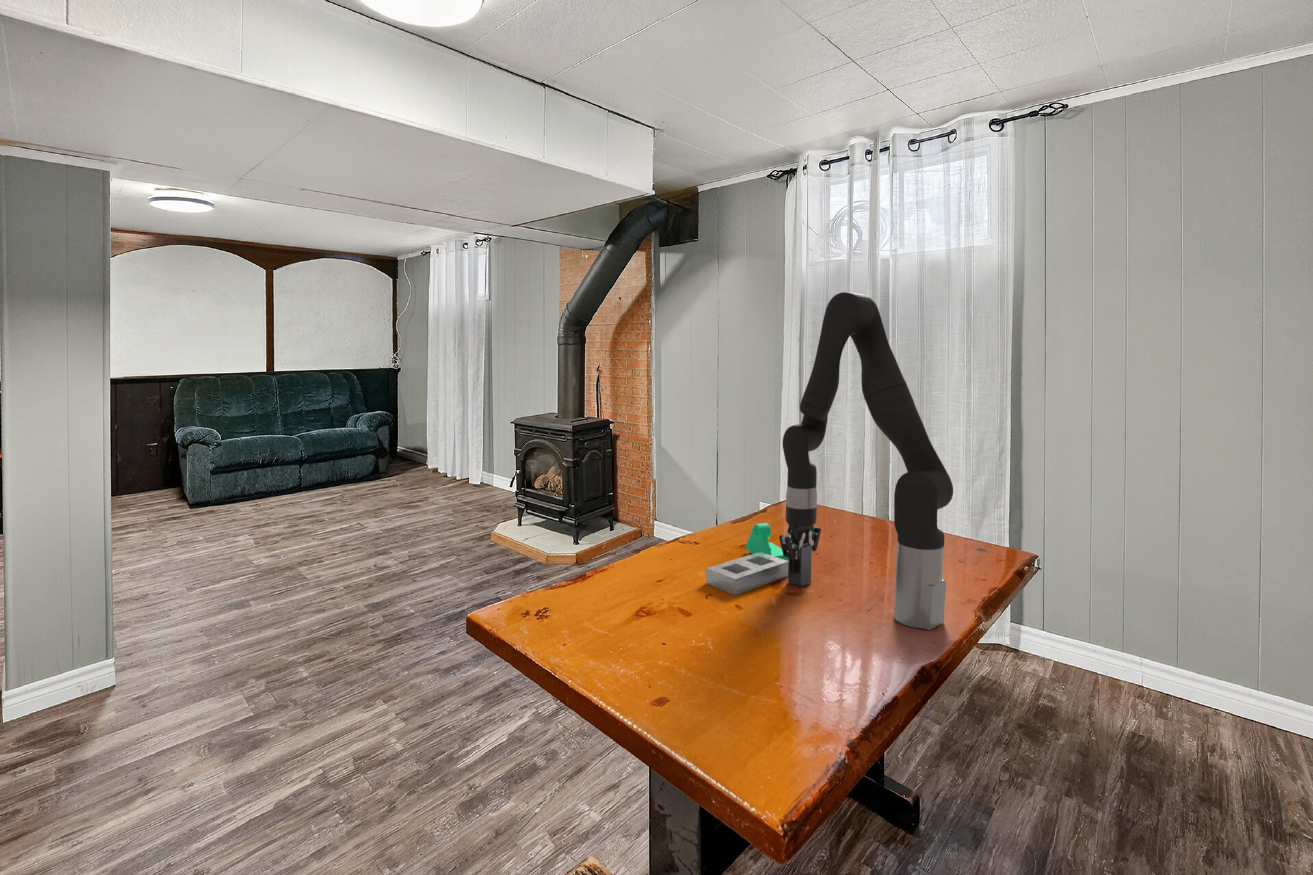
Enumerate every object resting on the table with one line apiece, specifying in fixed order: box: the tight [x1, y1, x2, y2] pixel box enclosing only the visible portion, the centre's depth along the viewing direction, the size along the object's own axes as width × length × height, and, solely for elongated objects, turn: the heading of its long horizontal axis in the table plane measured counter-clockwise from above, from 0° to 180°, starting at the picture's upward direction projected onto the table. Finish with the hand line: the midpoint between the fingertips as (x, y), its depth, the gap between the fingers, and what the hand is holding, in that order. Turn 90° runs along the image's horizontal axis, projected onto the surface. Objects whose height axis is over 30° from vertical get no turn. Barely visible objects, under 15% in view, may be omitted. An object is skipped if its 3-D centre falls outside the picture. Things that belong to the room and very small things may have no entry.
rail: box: [705, 552, 788, 596], centre depth 160 cm, size 10×20×4 cm, turn 129°
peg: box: [787, 544, 813, 588], centre depth 157 cm, size 4×4×10 cm
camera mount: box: [745, 522, 788, 561], centre depth 177 cm, size 12×8×10 cm, turn 20°
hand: (799, 570), depth 157 cm, fingers closed on peg, 4 cm apart
